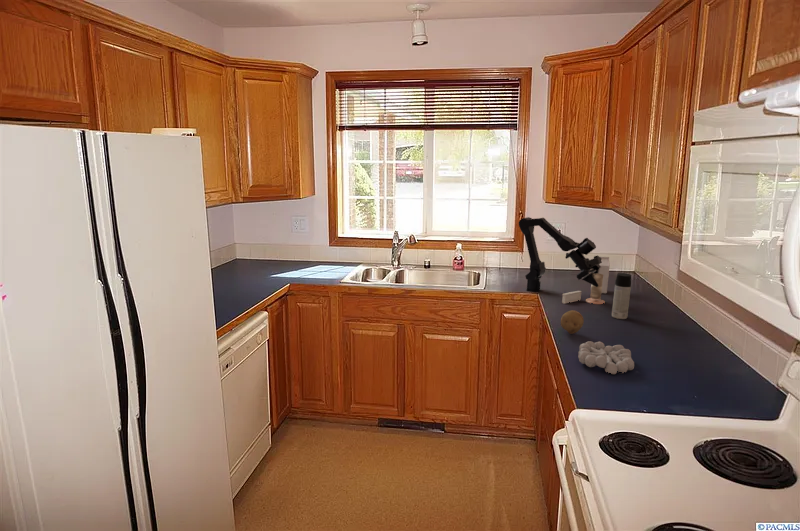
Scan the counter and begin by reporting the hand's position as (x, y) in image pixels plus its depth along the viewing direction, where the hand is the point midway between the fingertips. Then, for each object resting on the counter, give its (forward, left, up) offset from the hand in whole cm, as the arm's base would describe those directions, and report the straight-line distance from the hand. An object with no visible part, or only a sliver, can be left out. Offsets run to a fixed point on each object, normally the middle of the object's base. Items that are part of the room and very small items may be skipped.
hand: (599, 285), depth 264 cm
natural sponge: (-14, -54, -9) cm, 56 cm away
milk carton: (+2, +23, -9) cm, 24 cm away
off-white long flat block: (-13, -3, -9) cm, 16 cm away
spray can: (+8, -22, -9) cm, 25 cm away
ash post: (-1, +1, -7) cm, 7 cm away
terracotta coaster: (-1, +1, -9) cm, 9 cm away
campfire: (-3, -82, -9) cm, 82 cm away
